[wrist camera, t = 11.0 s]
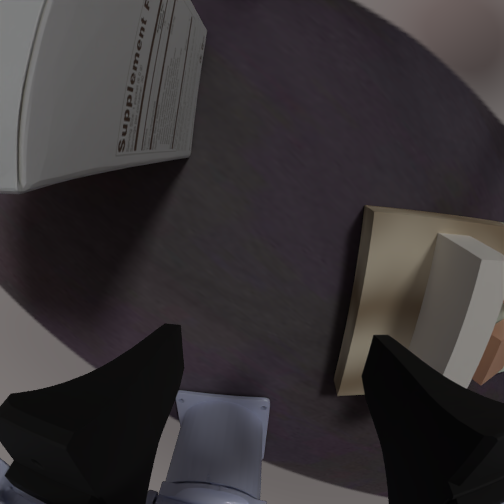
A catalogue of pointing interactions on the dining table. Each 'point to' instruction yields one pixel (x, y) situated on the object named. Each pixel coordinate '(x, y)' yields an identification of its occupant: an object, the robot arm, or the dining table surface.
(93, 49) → the supplement box
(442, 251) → the push bar
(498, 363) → the tile
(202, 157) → the dining table surface
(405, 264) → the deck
